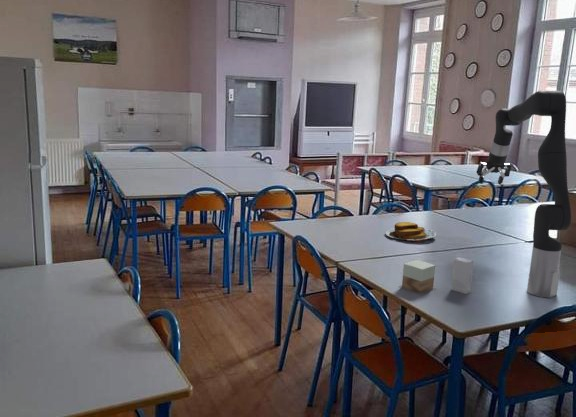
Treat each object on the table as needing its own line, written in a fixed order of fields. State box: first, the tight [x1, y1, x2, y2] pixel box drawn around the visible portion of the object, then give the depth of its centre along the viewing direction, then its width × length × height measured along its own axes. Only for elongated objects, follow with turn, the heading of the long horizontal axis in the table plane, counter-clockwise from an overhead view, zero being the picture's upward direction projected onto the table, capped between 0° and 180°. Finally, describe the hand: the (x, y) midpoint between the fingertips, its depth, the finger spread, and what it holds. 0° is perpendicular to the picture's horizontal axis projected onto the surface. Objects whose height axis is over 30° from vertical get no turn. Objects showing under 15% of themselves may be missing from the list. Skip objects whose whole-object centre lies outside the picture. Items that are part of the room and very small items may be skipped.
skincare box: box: [450, 256, 474, 295], centre depth 194 cm, size 6×4×12 cm
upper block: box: [402, 259, 436, 281], centre depth 195 cm, size 8×8×4 cm
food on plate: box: [384, 221, 438, 244], centre depth 269 cm, size 25×25×7 cm
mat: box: [398, 285, 437, 296], centre depth 196 cm, size 10×10×1 cm
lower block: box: [401, 275, 435, 293], centre depth 196 cm, size 8×8×4 cm
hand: (490, 183), depth 245 cm, fingers open, 8 cm apart
